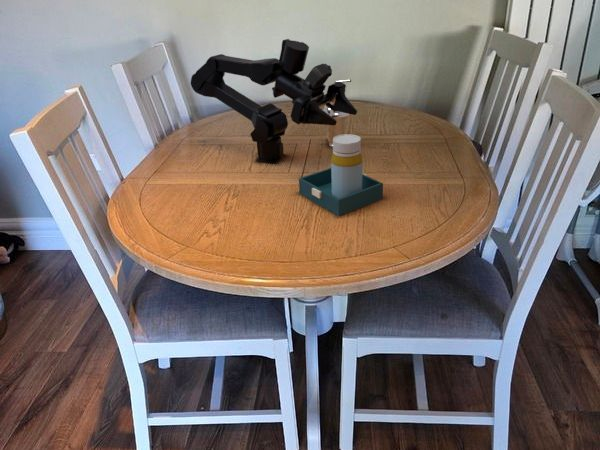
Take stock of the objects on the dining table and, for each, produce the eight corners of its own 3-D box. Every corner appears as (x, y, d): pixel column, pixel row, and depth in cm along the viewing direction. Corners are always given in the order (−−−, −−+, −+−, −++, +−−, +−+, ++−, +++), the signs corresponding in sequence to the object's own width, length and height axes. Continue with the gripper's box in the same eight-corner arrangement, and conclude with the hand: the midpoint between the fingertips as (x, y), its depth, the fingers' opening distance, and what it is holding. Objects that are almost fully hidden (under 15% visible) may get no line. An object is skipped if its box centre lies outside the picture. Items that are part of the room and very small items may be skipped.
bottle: (360, 207, 110) (361, 144, 103) (329, 205, 111) (328, 144, 104) (363, 193, 116) (364, 133, 108) (334, 192, 117) (333, 133, 110)
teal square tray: (297, 194, 118) (296, 179, 116) (343, 177, 124) (343, 163, 123) (336, 217, 107) (336, 201, 105) (384, 198, 113) (385, 182, 111)
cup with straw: (342, 138, 150) (341, 72, 140) (356, 147, 143) (357, 78, 133) (317, 143, 147) (315, 76, 137) (330, 152, 140) (329, 82, 130)
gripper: (280, 66, 110) (334, 97, 105) (326, 51, 123) (376, 79, 118) (271, 109, 118) (321, 140, 112) (315, 91, 130) (362, 118, 125)
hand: (346, 118), depth 117 cm, fingers open, 9 cm apart
